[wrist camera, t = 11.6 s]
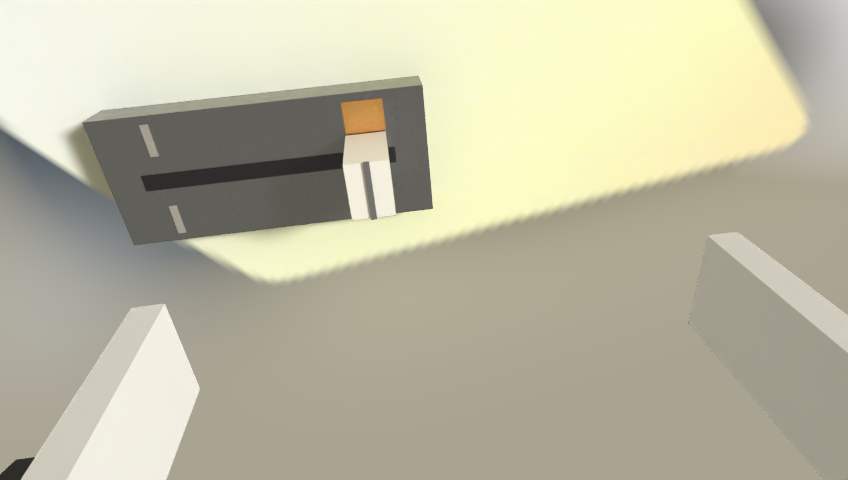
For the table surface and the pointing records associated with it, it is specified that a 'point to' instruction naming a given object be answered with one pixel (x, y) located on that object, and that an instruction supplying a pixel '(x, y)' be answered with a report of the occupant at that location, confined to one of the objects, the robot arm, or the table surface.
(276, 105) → the fader panel
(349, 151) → the fader
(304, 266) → the table surface
